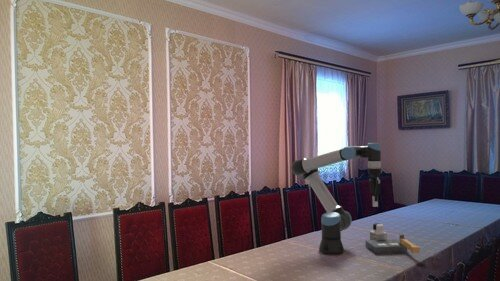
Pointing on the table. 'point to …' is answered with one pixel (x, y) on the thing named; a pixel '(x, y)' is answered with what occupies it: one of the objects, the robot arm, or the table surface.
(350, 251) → the table surface
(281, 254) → the table surface
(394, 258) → the table surface
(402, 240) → the bar
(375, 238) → the container
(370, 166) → the robot arm
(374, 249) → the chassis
